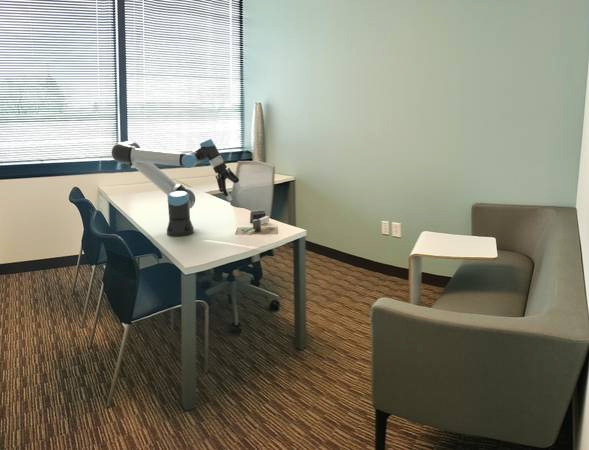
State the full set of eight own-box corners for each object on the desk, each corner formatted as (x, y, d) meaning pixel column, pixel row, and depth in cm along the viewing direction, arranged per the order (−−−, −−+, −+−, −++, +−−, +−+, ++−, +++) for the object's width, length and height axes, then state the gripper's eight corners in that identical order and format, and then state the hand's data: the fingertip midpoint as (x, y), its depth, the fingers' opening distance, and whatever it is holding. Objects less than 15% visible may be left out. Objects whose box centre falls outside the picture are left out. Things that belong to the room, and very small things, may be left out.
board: (234, 236, 272) (234, 233, 272) (237, 229, 288) (237, 226, 287) (277, 236, 273) (277, 233, 272) (277, 229, 288) (277, 226, 288)
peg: (251, 234, 271) (250, 224, 269) (244, 233, 273) (244, 223, 271) (271, 226, 289) (270, 216, 288) (264, 225, 291) (264, 215, 290)
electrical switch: (263, 222, 304) (263, 208, 301) (266, 225, 299) (266, 211, 296) (249, 224, 300) (249, 210, 297) (252, 227, 296) (252, 212, 293)
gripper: (212, 168, 271) (231, 201, 276) (232, 156, 292) (249, 187, 297) (202, 173, 275) (221, 206, 279) (223, 160, 296) (240, 191, 301)
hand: (235, 196), depth 288 cm, fingers open, 13 cm apart
